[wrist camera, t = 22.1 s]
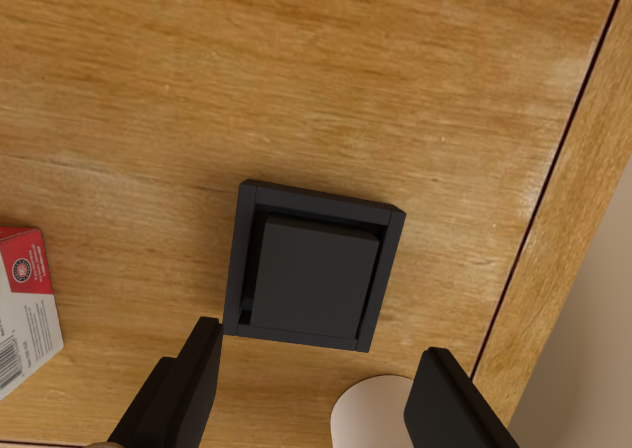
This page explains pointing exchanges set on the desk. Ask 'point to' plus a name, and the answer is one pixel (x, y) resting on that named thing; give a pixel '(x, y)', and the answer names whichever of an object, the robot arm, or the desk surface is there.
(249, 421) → the desk surface
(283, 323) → the black pad
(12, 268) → the ink box
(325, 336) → the socket pad
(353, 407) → the cup
